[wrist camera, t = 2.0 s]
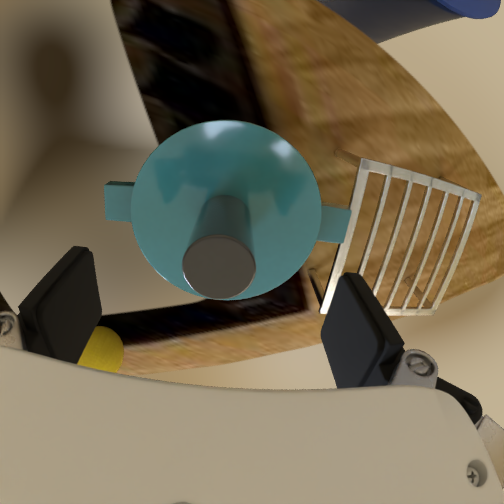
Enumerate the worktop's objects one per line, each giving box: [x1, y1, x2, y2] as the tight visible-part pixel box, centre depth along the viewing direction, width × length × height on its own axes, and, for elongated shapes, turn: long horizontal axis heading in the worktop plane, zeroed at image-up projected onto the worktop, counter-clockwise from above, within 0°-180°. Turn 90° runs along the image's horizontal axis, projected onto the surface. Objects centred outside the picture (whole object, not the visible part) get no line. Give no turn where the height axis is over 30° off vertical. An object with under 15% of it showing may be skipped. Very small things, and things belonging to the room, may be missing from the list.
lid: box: [131, 120, 322, 300], centre depth 15 cm, size 11×11×7 cm
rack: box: [308, 149, 481, 315], centre depth 24 cm, size 13×13×6 cm
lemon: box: [77, 326, 124, 373], centre depth 28 cm, size 6×6×8 cm
